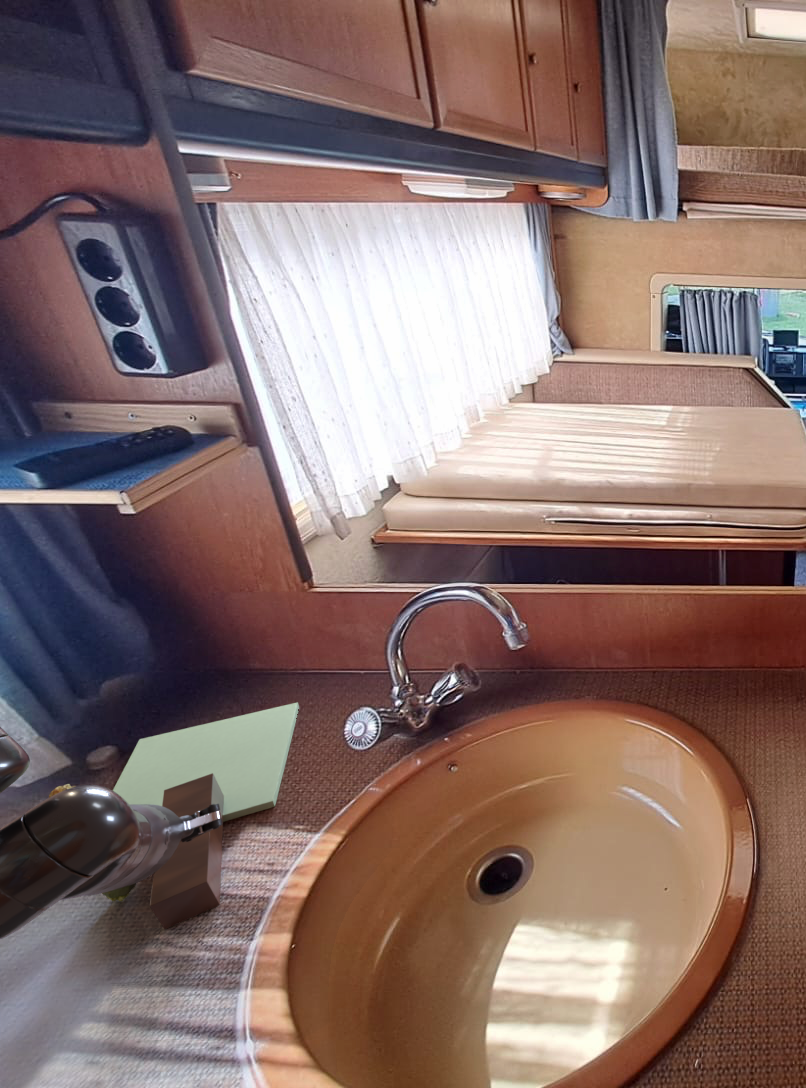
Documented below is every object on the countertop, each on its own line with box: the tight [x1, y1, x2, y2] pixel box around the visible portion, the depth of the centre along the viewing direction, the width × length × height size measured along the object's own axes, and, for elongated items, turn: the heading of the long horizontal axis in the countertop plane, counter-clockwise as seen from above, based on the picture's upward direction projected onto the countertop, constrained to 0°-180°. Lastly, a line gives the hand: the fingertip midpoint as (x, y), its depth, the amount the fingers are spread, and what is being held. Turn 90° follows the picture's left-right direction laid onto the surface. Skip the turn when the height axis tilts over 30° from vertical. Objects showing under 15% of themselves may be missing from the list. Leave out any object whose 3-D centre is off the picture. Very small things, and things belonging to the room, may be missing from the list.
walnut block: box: [149, 773, 224, 930], centre depth 80 cm, size 5×5×18 cm
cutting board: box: [112, 701, 300, 823], centre depth 93 cm, size 20×22×1 cm
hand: (168, 839), depth 73 cm, fingers closed
